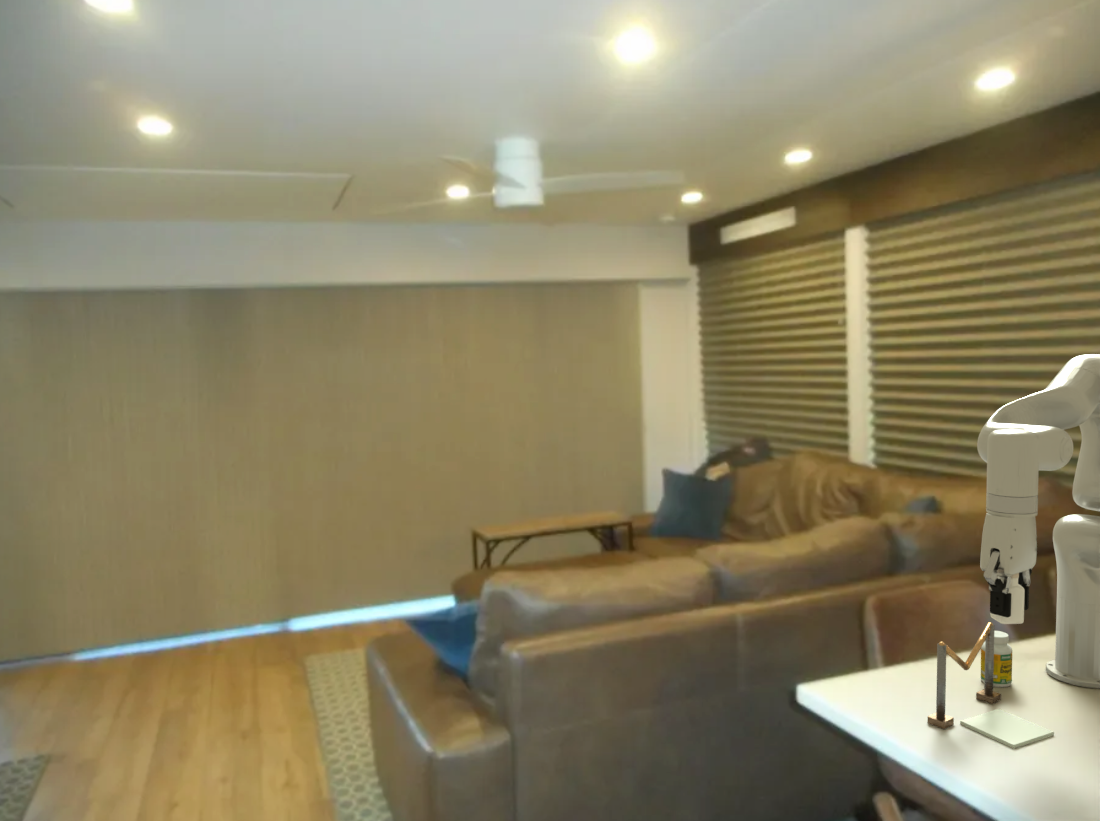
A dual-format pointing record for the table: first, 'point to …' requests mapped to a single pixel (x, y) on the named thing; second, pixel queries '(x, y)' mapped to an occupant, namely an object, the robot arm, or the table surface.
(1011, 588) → the salt shaker
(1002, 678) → the supplement bottle
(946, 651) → the wire hurdle
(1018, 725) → the mat
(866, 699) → the table surface
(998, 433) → the robot arm
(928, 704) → the table surface
